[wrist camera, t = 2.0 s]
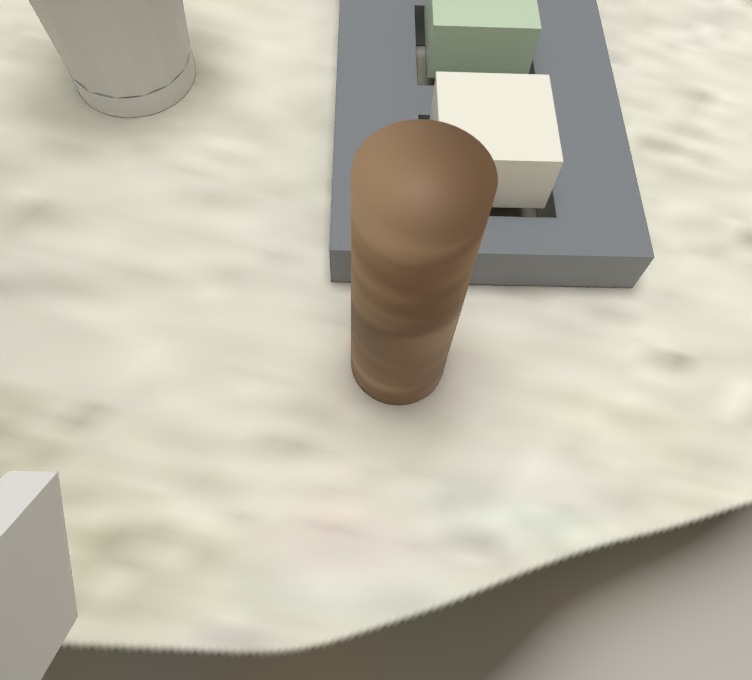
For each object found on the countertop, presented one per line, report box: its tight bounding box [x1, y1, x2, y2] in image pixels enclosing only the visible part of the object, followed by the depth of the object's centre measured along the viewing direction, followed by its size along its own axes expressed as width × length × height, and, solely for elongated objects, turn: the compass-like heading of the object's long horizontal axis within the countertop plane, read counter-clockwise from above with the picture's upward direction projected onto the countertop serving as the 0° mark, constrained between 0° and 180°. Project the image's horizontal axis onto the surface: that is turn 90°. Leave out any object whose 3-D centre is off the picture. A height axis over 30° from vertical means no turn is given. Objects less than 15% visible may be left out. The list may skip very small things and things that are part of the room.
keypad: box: [329, 0, 654, 288], centre depth 35 cm, size 14×26×2 cm, turn 0°
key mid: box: [424, 0, 542, 78], centre depth 33 cm, size 5×5×3 cm
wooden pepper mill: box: [351, 119, 498, 405], centre depth 23 cm, size 4×4×12 cm
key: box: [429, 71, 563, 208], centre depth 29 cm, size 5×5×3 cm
